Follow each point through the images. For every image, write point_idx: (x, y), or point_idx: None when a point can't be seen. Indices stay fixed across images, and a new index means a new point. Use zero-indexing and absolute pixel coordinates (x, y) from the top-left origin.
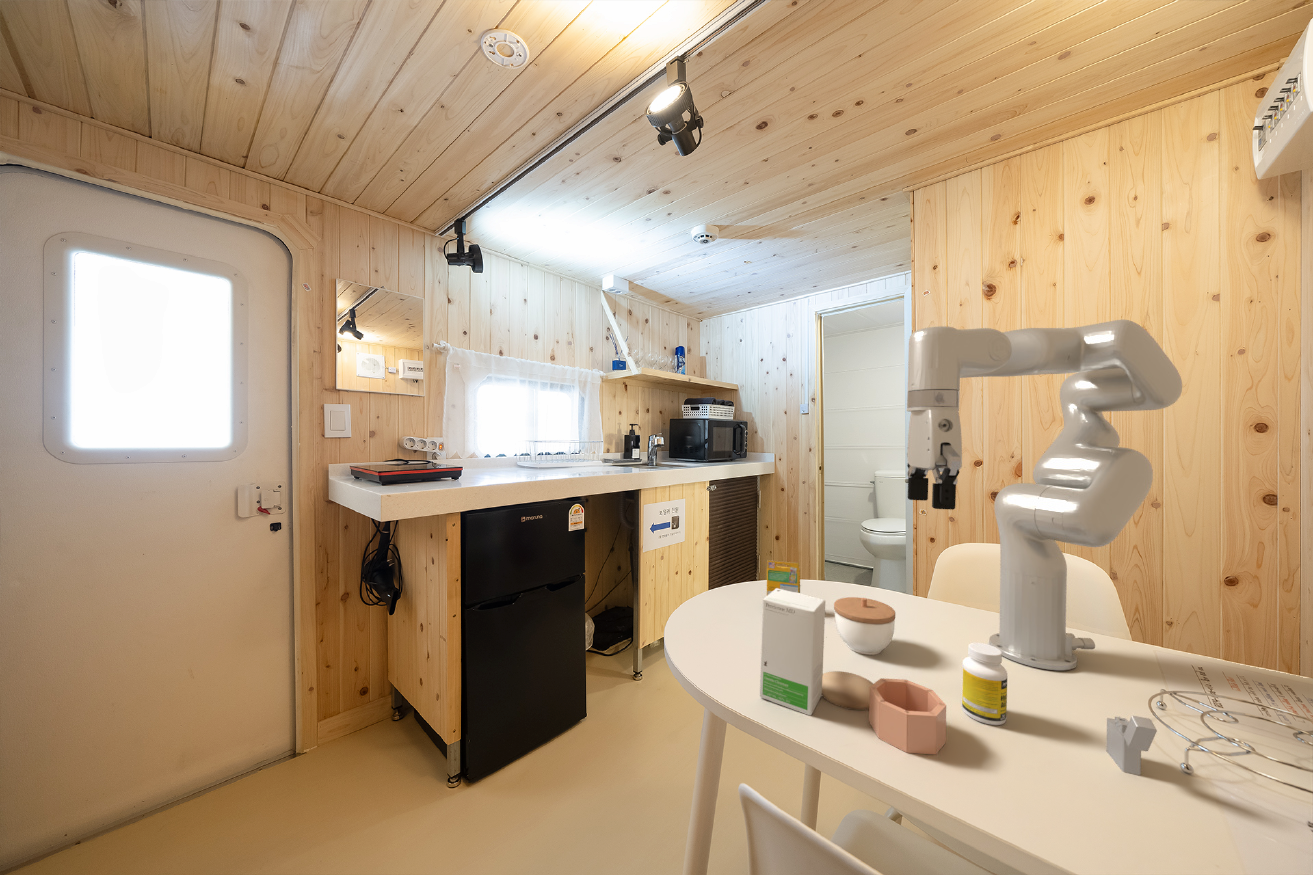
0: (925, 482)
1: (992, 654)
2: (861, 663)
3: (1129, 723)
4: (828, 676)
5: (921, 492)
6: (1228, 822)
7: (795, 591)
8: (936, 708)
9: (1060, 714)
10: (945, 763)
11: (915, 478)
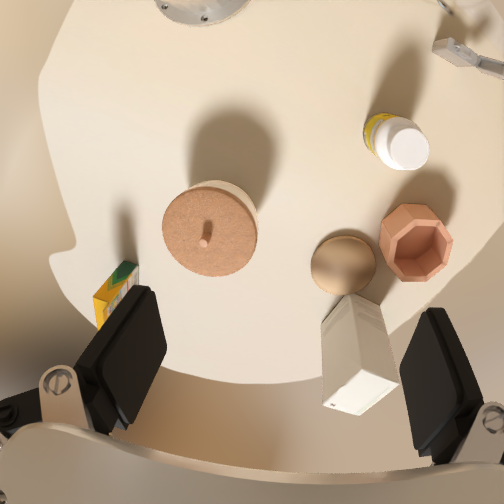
0: (114, 363)
1: (428, 151)
2: (272, 227)
3: (494, 73)
4: (323, 281)
5: (144, 336)
6: (497, 48)
7: (124, 287)
8: (443, 233)
9: (373, 42)
10: (448, 220)
11: (117, 410)
